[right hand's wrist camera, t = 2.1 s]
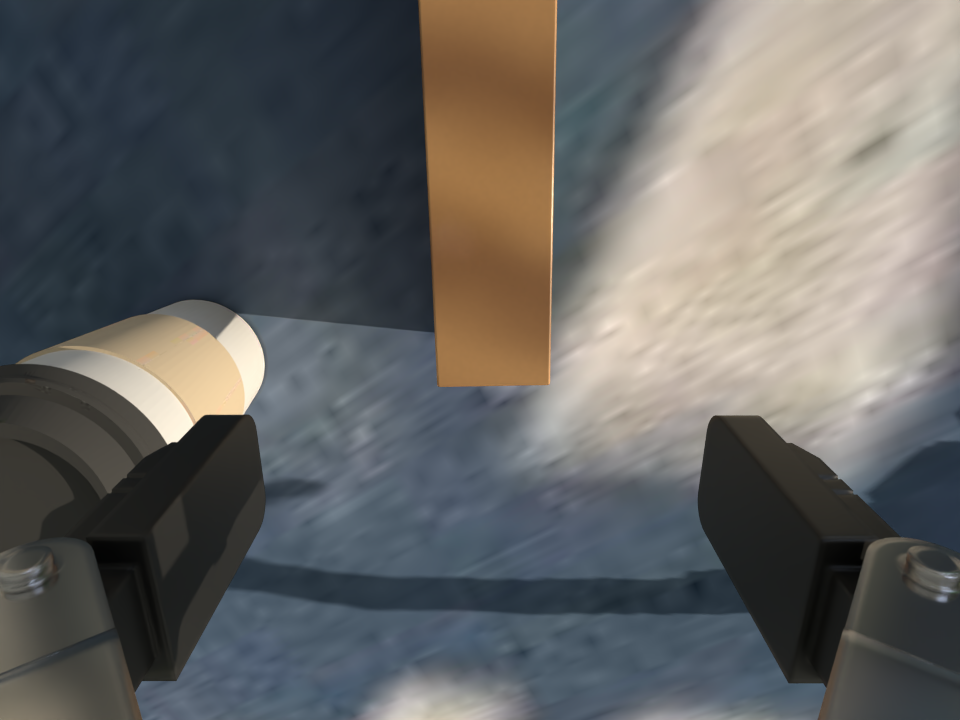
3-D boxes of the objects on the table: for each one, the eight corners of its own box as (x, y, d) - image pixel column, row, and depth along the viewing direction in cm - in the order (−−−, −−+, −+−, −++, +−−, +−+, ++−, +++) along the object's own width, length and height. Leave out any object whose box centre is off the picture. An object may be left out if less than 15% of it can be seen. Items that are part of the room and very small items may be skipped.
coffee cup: (101, 393, 35) (-155, 570, 21) (145, 250, 32) (-117, 344, 18) (254, 457, 36) (108, 663, 22) (309, 324, 34) (182, 467, 20)
